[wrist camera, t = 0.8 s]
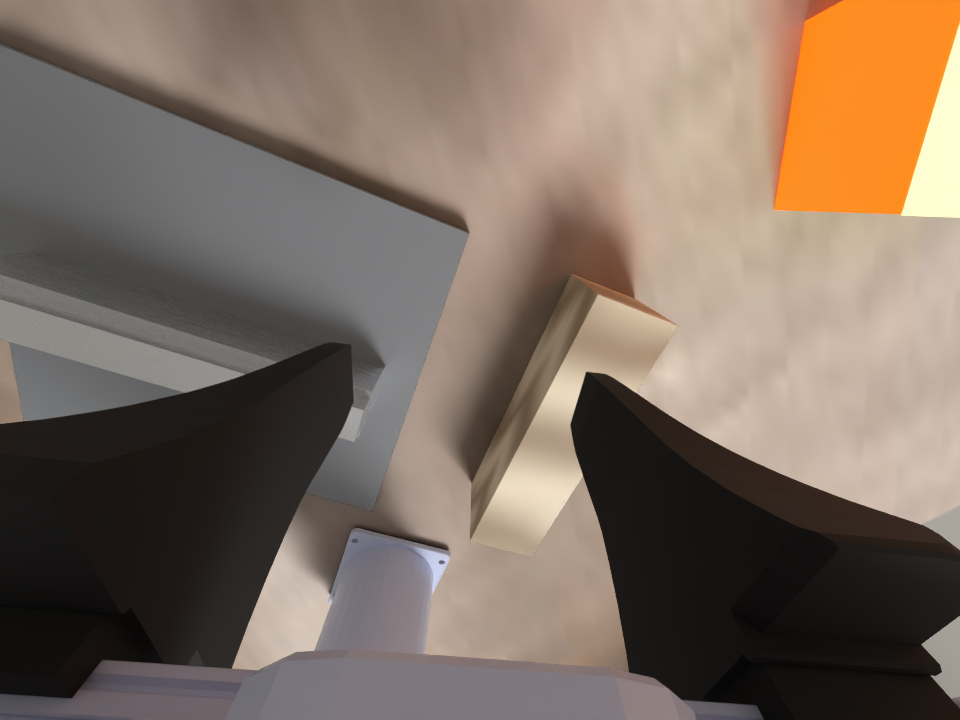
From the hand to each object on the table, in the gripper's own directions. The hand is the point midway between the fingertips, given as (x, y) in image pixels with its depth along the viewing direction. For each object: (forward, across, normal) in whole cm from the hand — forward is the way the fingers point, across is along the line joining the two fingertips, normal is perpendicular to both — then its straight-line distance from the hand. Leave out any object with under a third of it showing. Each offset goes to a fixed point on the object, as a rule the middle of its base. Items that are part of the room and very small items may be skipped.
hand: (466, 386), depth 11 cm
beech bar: (+10, -5, +6) cm, 13 cm away
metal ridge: (+10, +14, +4) cm, 17 cm away
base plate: (+10, +14, +4) cm, 17 cm away
